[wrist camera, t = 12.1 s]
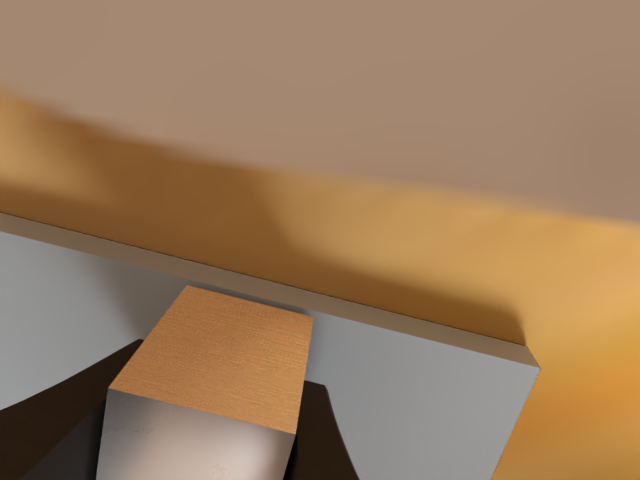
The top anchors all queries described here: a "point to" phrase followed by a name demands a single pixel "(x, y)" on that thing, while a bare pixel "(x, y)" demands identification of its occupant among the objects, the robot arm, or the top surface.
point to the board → (322, 363)
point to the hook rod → (208, 393)
